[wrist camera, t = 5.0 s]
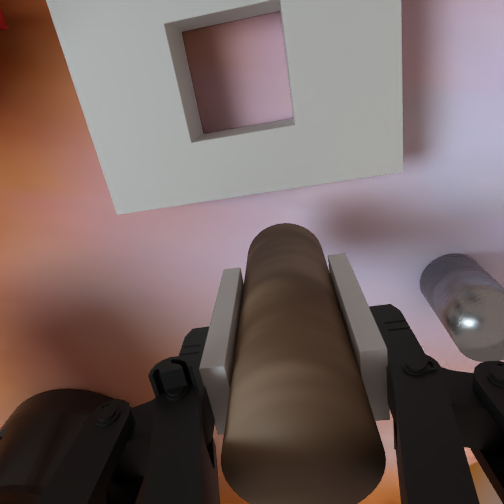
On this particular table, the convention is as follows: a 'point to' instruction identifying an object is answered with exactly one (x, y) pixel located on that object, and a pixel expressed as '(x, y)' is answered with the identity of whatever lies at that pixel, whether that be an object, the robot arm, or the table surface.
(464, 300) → the cylinder
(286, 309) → the walnut dowel
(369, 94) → the socket block
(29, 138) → the table surface
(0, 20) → the mug
